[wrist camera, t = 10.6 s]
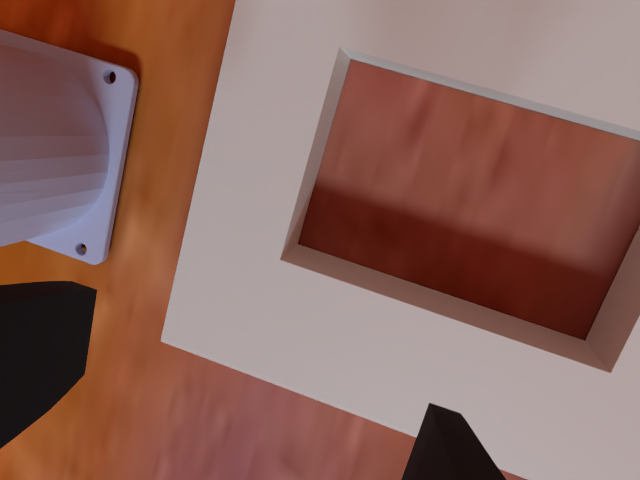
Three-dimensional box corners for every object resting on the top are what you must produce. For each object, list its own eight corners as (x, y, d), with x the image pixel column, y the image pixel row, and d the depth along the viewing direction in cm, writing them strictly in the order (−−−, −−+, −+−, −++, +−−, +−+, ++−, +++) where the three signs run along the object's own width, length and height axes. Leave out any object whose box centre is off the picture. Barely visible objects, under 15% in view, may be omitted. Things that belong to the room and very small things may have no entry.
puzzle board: (190, 317, 21) (160, 341, 18) (290, -107, 17) (268, -148, 14) (629, 478, 18) (660, 529, 16) (870, 35, 14) (962, 14, 12)
